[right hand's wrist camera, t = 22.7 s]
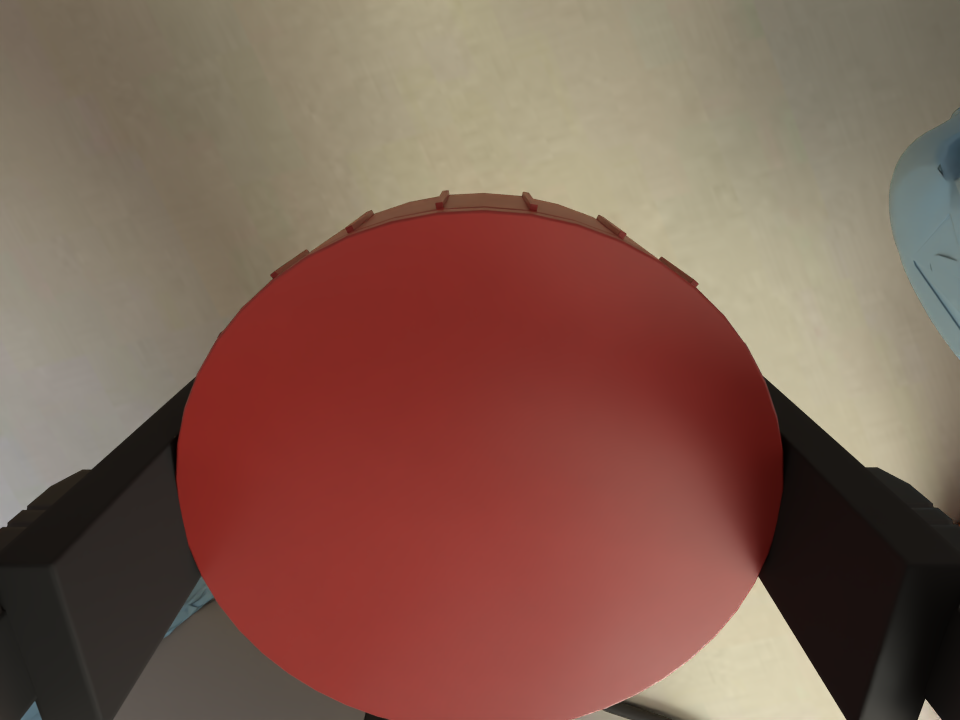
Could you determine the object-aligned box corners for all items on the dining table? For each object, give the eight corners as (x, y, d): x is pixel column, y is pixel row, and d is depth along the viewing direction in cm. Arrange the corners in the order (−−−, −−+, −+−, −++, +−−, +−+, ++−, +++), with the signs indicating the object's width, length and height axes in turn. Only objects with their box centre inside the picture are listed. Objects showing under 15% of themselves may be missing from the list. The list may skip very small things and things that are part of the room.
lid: (164, 223, 11) (79, 249, 8) (739, 154, 10) (813, 161, 8) (292, 654, 14) (255, 753, 12) (724, 615, 14) (772, 711, 11)
